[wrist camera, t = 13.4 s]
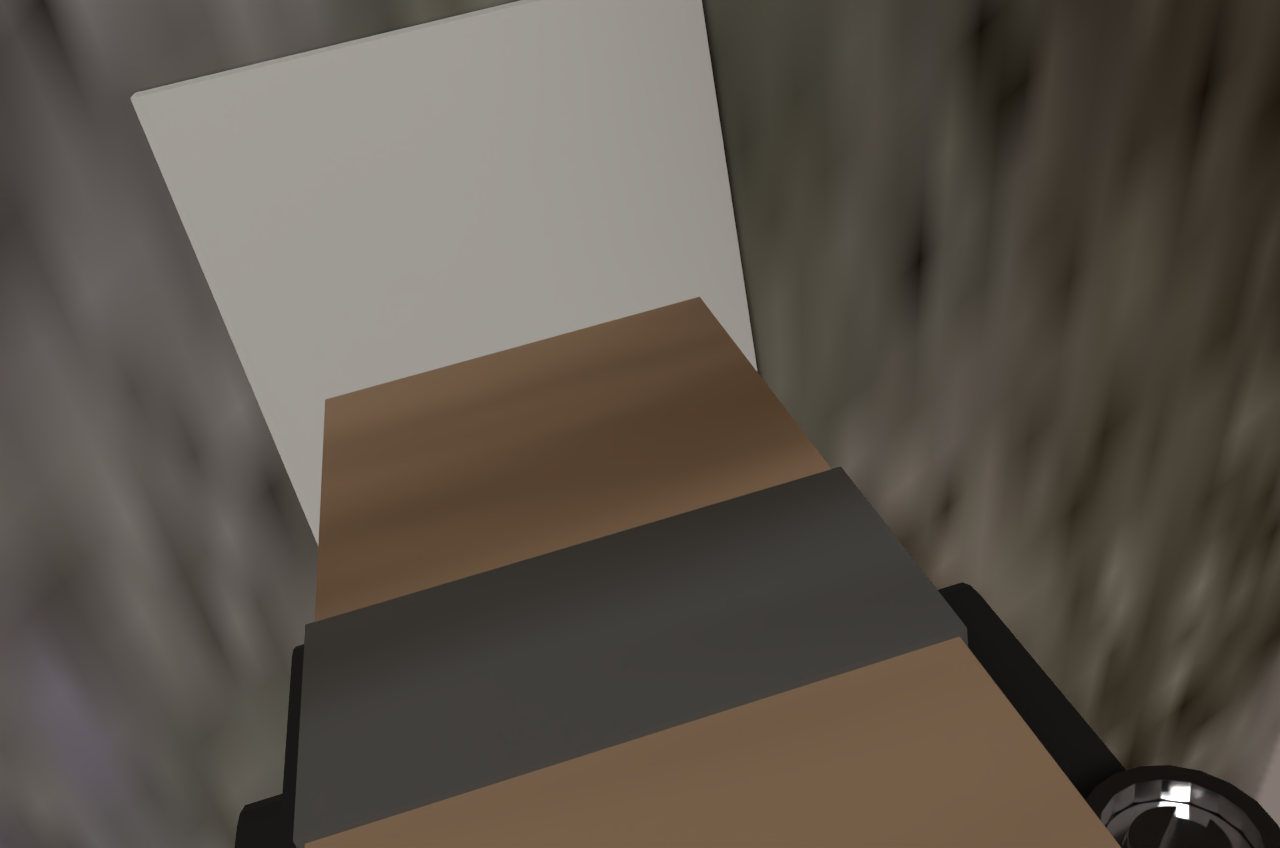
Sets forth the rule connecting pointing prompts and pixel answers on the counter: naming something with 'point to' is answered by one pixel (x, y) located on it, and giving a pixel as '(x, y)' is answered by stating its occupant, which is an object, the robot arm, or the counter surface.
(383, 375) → the rest mat
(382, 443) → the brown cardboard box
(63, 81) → the counter surface
